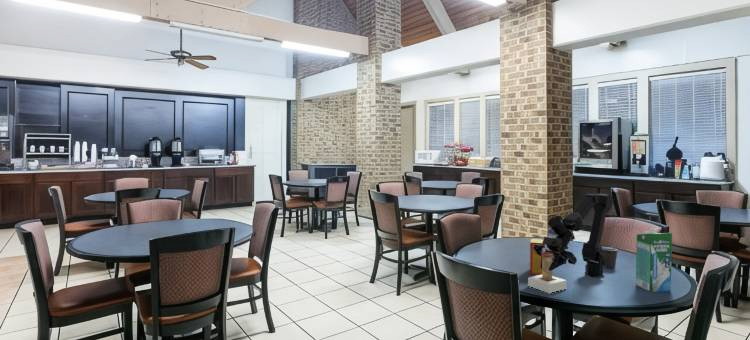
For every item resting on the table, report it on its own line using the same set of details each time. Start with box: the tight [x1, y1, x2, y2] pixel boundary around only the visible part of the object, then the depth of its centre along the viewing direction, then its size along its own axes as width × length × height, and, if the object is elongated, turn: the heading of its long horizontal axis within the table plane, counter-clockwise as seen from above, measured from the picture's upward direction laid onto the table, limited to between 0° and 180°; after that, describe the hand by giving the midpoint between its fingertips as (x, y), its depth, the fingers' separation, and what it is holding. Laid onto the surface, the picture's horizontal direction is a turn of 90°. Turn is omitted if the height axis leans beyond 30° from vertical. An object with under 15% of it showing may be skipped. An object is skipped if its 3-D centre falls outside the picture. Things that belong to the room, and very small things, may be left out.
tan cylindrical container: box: [542, 251, 553, 282], centre depth 177 cm, size 5×5×14 cm
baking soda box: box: [529, 238, 546, 275], centre depth 200 cm, size 10×6×16 cm
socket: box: [527, 274, 567, 294], centre depth 177 cm, size 11×11×4 cm
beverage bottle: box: [547, 227, 557, 259], centre depth 228 cm, size 8×8×20 cm
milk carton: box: [635, 230, 673, 293], centre depth 175 cm, size 9×9×25 cm
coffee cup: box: [602, 246, 619, 269], centre depth 207 cm, size 8×8×10 cm
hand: (545, 269), depth 176 cm, fingers closed on tan cylindrical container, 4 cm apart
